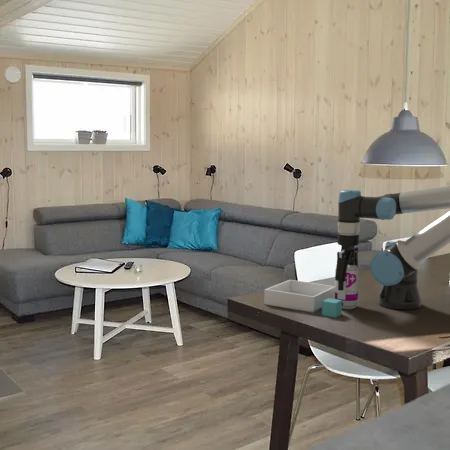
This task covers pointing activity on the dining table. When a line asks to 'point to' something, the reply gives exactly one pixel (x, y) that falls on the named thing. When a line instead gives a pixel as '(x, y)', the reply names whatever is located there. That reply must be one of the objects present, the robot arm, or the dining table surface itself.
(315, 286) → the tote
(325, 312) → the cube
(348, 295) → the supplement can
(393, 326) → the dining table surface
